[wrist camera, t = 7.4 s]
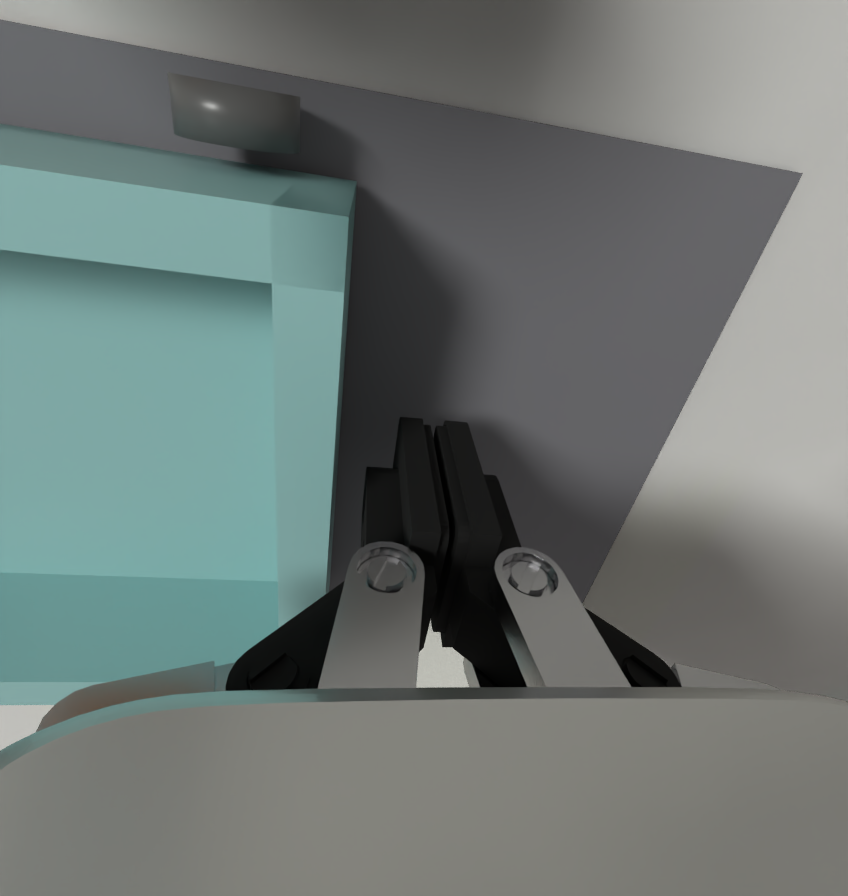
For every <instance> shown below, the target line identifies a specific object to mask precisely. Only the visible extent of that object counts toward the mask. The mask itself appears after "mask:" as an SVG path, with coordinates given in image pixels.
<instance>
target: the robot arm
mask: <svg viewBox="0 0 848 896" xmlns="http://www.w3.org/2000/svg"><path fill="white" fill-rule="evenodd" d="M430 619H431V623H432V629H433V631H434V632H441V640H442V647H453V648H454V649H455V650H456V651H457V652H458V653H460V654H461V655H462V656H463V657H464V661H463V665H464V672H465V675H466V678H467V681H468V684H469V687H465V688H416V682H417V669H418V656H419V652H420V651H421V650H422V649H423V647H424V643H425V639H426V635H427V631H428V627H429V623H430ZM0 896H848V702H847V701H843V700H839V699H835V698H831V697H827V696H822V695H815V694H808V693H802V692H795V691H785V690H780V689H779V688H776V687H774V686H771V685H768V684H766V683H761V682H757V681H753V680H748V679H744V678H739V677H735V676H731V675H726V674H722V673H717V672H713V671H709V670H704V669H700V668H695V667H691V666H687V665H682V664H678V663H674V665H673V666H672V667H671V668H670V667H668V665H667V664H666V663H665V662H664V661H663V660H661V659H660V658H659V657H658V656H656V655H655V654H654V653H652V652H651V651H649V650H648V649H646V648H645V647H643V646H642V645H640V644H639V643H637V642H636V641H634V640H633V639H631V638H630V637H628V636H627V635H625V634H624V633H622V632H621V631H619V630H618V629H616V628H615V627H613V626H612V625H610V624H609V623H607V622H606V621H604V620H603V619H601V618H599V617H598V616H596V615H595V614H593V613H592V612H590V611H589V610H587V609H586V608H584V606H583V605H582V603H581V601H580V600H579V598H578V596H577V595H576V593H575V591H574V589H573V588H572V586H571V584H570V583H569V581H568V579H567V578H566V576H565V574H564V573H563V571H562V570H561V568H560V567H559V566H558V565H557V563H556V562H555V561H553V560H552V559H551V558H550V557H548V556H547V555H545V554H543V553H541V552H539V551H537V550H533V549H530V548H524V547H521V544H520V541H519V538H518V535H517V532H516V530H515V527H514V524H513V521H512V518H511V515H510V512H509V509H508V506H507V503H506V500H505V497H504V495H503V492H502V489H501V486H500V483H499V480H498V478H497V476H495V475H487V474H483V471H482V467H481V464H480V461H479V458H478V454H477V451H476V448H475V445H474V441H473V438H472V435H471V432H470V428H469V425H468V423H467V422H458V421H446V420H445V422H444V424H443V426H436V428H435V432H434V437H433V435H432V430H431V425H424V423H423V419H422V418H410V417H400V419H399V425H398V432H397V439H396V446H395V454H394V461H393V468H381V467H366V474H365V483H364V493H363V506H362V524H361V548H360V549H359V550H358V551H357V552H356V553H355V554H354V555H353V557H352V559H351V561H350V563H349V566H348V570H347V574H346V578H345V581H343V582H342V583H341V584H339V585H338V586H336V587H335V588H334V589H332V590H331V591H330V592H328V593H327V594H325V595H324V596H323V597H321V598H320V599H318V600H317V601H316V602H314V603H313V604H311V605H310V606H309V607H307V608H306V609H304V610H303V611H302V612H300V613H299V614H297V615H296V616H295V617H293V618H292V619H291V620H289V621H288V622H286V623H285V624H284V625H282V626H281V627H279V628H278V629H277V630H275V631H274V632H272V633H271V634H270V635H268V636H267V637H265V638H264V639H263V640H261V641H260V642H258V643H257V644H256V645H254V646H253V647H252V648H250V649H249V650H247V651H246V652H245V653H244V654H243V655H242V656H241V657H240V658H239V659H238V660H237V661H236V662H234V663H229V664H225V665H220V666H215V662H214V661H210V662H205V663H200V664H195V665H190V666H185V667H180V668H175V669H170V670H165V671H160V672H155V673H150V674H145V675H140V676H136V677H131V678H126V679H121V680H116V681H111V682H106V683H101V684H96V685H91V686H89V687H86V688H83V689H80V690H77V691H74V692H73V693H71V694H70V695H68V696H67V697H65V698H64V699H62V700H60V701H59V702H57V703H56V704H55V705H54V707H53V708H52V709H51V710H50V711H49V712H48V713H47V714H46V715H45V716H44V717H43V719H42V721H41V723H40V725H39V727H38V729H37V731H36V733H34V734H32V735H30V736H28V737H25V738H23V739H21V740H19V741H17V742H15V743H13V744H11V745H9V746H8V747H6V748H4V749H3V750H1V751H0Z"/></svg>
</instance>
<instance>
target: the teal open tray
mask: <svg viewBox="0 0 848 896" xmlns="http://www.w3.org/2000/svg"><path fill="white" fill-rule="evenodd" d="M167 74H168V83H169V92H170V101H171V110H172V119H173V128H174V134H175V135H177V136H180V137H183V138H187V139H191V140H195V141H200V142H205V143H210V144H215V145H221V146H227V147H233V148H240V149H247V150H255V151H263V152H273V153H287V154H296V153H300V97H298V96H293V95H287V94H282V93H277V92H271V91H266V90H261V89H255V88H250V87H245V86H239V85H234V84H229V83H223V82H218V81H212V80H207V79H202V78H196V77H191V76H185V75H180V74H174V73H169V72H167ZM356 187H357V181H352V180H346V179H340V178H334V177H328V176H321V175H315V174H309V173H303V172H297V171H290V170H284V169H278V168H272V167H266V166H260V165H253V164H247V163H241V162H235V161H229V160H222V159H216V158H210V157H204V156H198V155H192V154H185V153H179V152H173V151H167V150H161V149H154V148H148V147H142V146H136V145H130V144H124V143H117V142H111V141H105V140H99V139H93V138H86V137H80V136H74V135H68V134H62V133H55V132H49V131H43V130H37V129H31V128H25V127H18V126H12V125H6V124H0V705H55V704H56V703H57V702H59V701H60V700H62V699H64V698H65V697H67V696H68V695H70V694H71V693H73V692H74V691H77V690H80V689H83V688H86V687H89V686H91V685H96V684H101V683H106V682H111V681H116V680H121V679H126V678H131V677H136V676H140V675H145V674H150V673H155V672H160V671H165V670H170V669H175V668H180V667H185V666H190V665H195V664H200V663H205V662H210V661H214V662H215V666H220V665H225V664H229V663H234V662H236V661H237V660H238V659H239V658H240V657H241V656H242V655H243V654H244V653H245V652H246V651H247V650H249V649H250V648H252V647H253V646H254V645H256V644H257V643H258V642H260V641H261V640H263V639H264V638H265V637H267V636H268V635H270V634H271V633H272V632H274V631H275V630H277V629H278V628H279V627H281V626H282V625H284V624H285V623H286V622H288V621H289V620H291V619H292V618H293V617H295V616H296V615H297V614H299V613H300V612H302V611H303V610H304V609H306V608H307V607H309V606H310V605H311V604H313V603H314V602H316V601H317V600H318V599H320V598H321V597H323V596H324V595H325V594H327V593H328V592H329V585H330V571H331V556H332V541H333V527H334V512H335V497H336V482H337V467H338V453H339V438H340V423H341V408H342V394H343V379H344V364H345V349H346V334H347V320H348V305H349V290H350V275H351V261H352V246H353V231H354V216H355V201H356Z"/></svg>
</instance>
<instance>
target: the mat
mask: <svg viewBox="0 0 848 896" xmlns="http://www.w3.org/2000/svg"><path fill="white" fill-rule="evenodd" d="M167 72H169V73H174V74H180V75H185V76H191V77H196V78H202V79H207V80H212V81H218V82H223V83H229V84H234V85H239V86H245V87H250V88H255V89H261V90H266V91H271V92H277V93H282V94H287V95H293V96H298V97H300V153H296V154H287V153H273V152H263V151H255V150H247V149H240V148H233V147H227V146H221V145H215V144H210V143H205V142H200V141H195V140H191V139H187V138H183V137H180V136H177V135H175V134H174V128H173V119H172V110H171V101H170V92H169V83H168V74H167ZM0 124H6V125H12V126H18V127H25V128H31V129H37V130H43V131H49V132H55V133H62V134H68V135H74V136H80V137H86V138H93V139H99V140H105V141H111V142H117V143H124V144H130V145H136V146H142V147H148V148H154V149H161V150H167V151H173V152H179V153H185V154H192V155H198V156H204V157H210V158H216V159H222V160H229V161H235V162H241V163H247V164H253V165H260V166H266V167H272V168H278V169H284V170H290V171H297V172H303V173H309V174H315V175H321V176H328V177H334V178H340V179H346V180H352V181H357V187H356V201H355V216H354V231H353V246H352V261H351V275H350V290H349V305H348V320H347V334H346V349H345V364H344V379H343V394H342V408H341V423H340V438H339V453H338V467H337V482H336V497H335V512H334V527H333V541H332V556H331V571H330V585H329V592H330V591H331V590H332V589H334V588H335V587H336V586H338V585H339V584H341V583H342V582H343V581H345V578H346V574H347V570H348V566H349V563H350V561H351V559H352V557H353V555H354V554H355V553H356V552H357V551H358V550H359V549H360V548H361V524H362V506H363V493H364V483H365V474H366V467H381V468H393V461H394V454H395V446H396V439H397V432H398V425H399V419H400V417H410V418H422V419H423V423H424V425H431V430H432V435H433V437H434V432H435V428H436V426H443V424H444V422H445V420H446V421H458V422H467V423H468V425H469V428H470V432H471V435H472V438H473V441H474V445H475V448H476V451H477V454H478V458H479V461H480V464H481V467H482V471H483V474H487V475H495V476H497V478H498V480H499V483H500V486H501V489H502V492H503V495H504V497H505V500H506V503H507V506H508V509H509V512H510V515H511V518H512V521H513V524H514V527H515V530H516V532H517V535H518V538H519V541H520V544H521V547H524V548H530V549H533V550H537V551H539V552H541V553H543V554H545V555H547V556H548V557H550V558H551V559H552V560H553V561H555V562H556V563H557V565H558V566H559V567H560V568H561V570H562V571H563V573H564V574H565V576H566V578H567V579H568V581H569V583H570V584H571V586H572V588H573V589H574V591H575V593H576V595H577V596H578V598H579V600H580V601H581V603H583V601H584V599H585V597H586V595H587V593H588V591H589V589H590V587H591V585H592V584H593V582H594V580H595V578H596V576H597V574H598V572H599V570H600V568H601V566H602V564H603V562H604V560H605V558H606V556H607V554H608V552H609V550H610V548H611V546H612V544H613V543H614V541H615V539H616V537H617V535H618V533H619V531H620V529H621V527H622V525H623V523H624V521H625V519H626V517H627V515H628V513H629V511H630V509H631V507H632V505H633V504H634V502H635V500H636V498H637V496H638V494H639V492H640V490H641V488H642V486H643V484H644V482H645V480H646V478H647V476H648V474H649V472H650V470H651V468H652V466H653V464H654V463H655V461H656V459H657V457H658V455H659V453H660V451H661V449H662V447H663V445H664V443H665V441H666V439H667V437H668V435H669V433H670V431H671V429H672V427H673V425H674V423H675V422H676V420H677V418H678V416H679V414H680V412H681V410H682V408H683V406H684V404H685V402H686V400H687V398H688V396H689V394H690V392H691V390H692V388H693V386H694V384H695V383H696V381H697V379H698V377H699V375H700V373H701V371H702V369H703V367H704V365H705V363H706V361H707V359H708V357H709V355H710V353H711V351H712V349H713V347H714V345H715V343H716V342H717V340H718V338H719V336H720V334H721V332H722V330H723V328H724V326H725V324H726V322H727V320H728V318H729V316H730V314H731V312H732V310H733V308H734V306H735V304H736V303H737V301H738V299H739V297H740V295H741V293H742V291H743V289H744V287H745V285H746V283H747V281H748V279H749V277H750V275H751V273H752V271H753V269H754V267H755V265H756V263H757V262H758V260H759V258H760V256H761V254H762V252H763V250H764V248H765V246H766V244H767V242H768V240H769V238H770V236H771V234H772V232H773V230H774V228H775V226H776V224H777V222H778V221H779V219H780V217H781V215H782V213H783V211H784V209H785V207H786V205H787V203H788V201H789V199H790V197H791V195H792V193H793V191H794V189H795V187H796V185H797V183H798V182H799V180H800V178H801V176H802V174H803V173H798V172H793V171H788V170H782V169H777V168H772V167H767V166H762V165H756V164H751V163H746V162H741V161H735V160H730V159H725V158H720V157H715V156H709V155H704V154H699V153H694V152H688V151H683V150H678V149H673V148H668V147H662V146H657V145H652V144H647V143H641V142H636V141H631V140H626V139H621V138H615V137H610V136H605V135H600V134H595V133H589V132H584V131H579V130H574V129H568V128H563V127H558V126H553V125H548V124H542V123H537V122H532V121H527V120H521V119H516V118H511V117H506V116H501V115H495V114H490V113H485V112H480V111H474V110H469V109H464V108H459V107H454V106H448V105H443V104H438V103H433V102H427V101H422V100H417V99H412V98H407V97H401V96H396V95H391V94H386V93H381V92H375V91H370V90H365V89H360V88H354V87H349V86H344V85H339V84H334V83H328V82H323V81H318V80H313V79H307V78H302V77H297V76H292V75H287V74H281V73H276V72H271V71H266V70H260V69H255V68H250V67H245V66H240V65H234V64H229V63H224V62H219V61H214V60H208V59H203V58H198V57H193V56H187V55H182V54H177V53H172V52H167V51H161V50H156V49H151V48H146V47H140V46H135V45H130V44H125V43H120V42H114V41H109V40H104V39H99V38H93V37H88V36H83V35H78V34H73V33H67V32H62V31H57V30H52V29H46V28H41V27H36V26H31V25H26V24H20V23H15V22H10V21H5V20H0Z"/></svg>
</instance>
